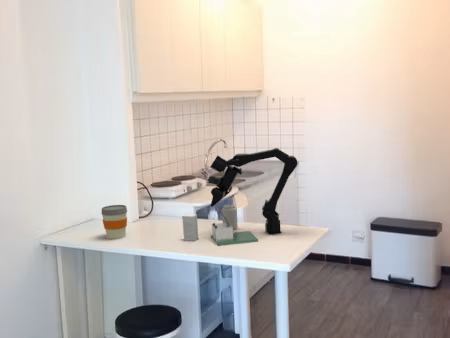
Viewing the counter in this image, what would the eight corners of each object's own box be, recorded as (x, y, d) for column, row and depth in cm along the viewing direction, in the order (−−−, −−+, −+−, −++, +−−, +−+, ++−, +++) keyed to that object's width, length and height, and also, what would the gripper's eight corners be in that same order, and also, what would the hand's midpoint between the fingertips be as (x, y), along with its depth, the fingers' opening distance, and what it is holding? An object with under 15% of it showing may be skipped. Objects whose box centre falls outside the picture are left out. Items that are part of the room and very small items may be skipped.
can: (238, 226, 268) (237, 203, 266) (237, 230, 260) (236, 207, 259) (223, 227, 269) (222, 204, 267) (222, 230, 261) (221, 207, 260)
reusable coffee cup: (98, 237, 260) (96, 208, 258) (119, 232, 269) (117, 203, 267) (113, 241, 251) (110, 211, 249) (134, 235, 261) (131, 206, 259)
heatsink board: (249, 233, 254) (248, 217, 253) (258, 241, 239) (257, 224, 238) (211, 236, 251) (210, 220, 250) (217, 245, 235) (216, 228, 234)
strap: (227, 223, 245) (228, 222, 245) (228, 225, 241) (230, 224, 241) (219, 212, 243) (220, 211, 244) (221, 213, 240) (222, 212, 240)
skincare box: (198, 238, 249) (197, 214, 247) (195, 241, 245) (193, 216, 243) (187, 238, 251) (185, 213, 249) (183, 240, 247) (181, 215, 245)
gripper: (219, 166, 262) (205, 192, 266) (209, 172, 244) (194, 199, 248) (238, 177, 260) (224, 203, 264) (229, 184, 242) (214, 211, 246)
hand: (214, 204), depth 256 cm, fingers open, 9 cm apart
